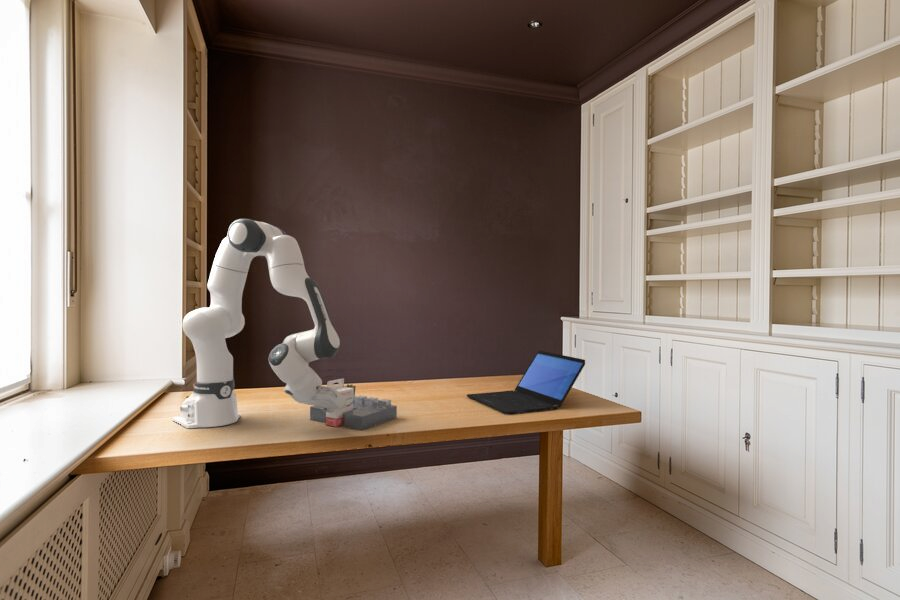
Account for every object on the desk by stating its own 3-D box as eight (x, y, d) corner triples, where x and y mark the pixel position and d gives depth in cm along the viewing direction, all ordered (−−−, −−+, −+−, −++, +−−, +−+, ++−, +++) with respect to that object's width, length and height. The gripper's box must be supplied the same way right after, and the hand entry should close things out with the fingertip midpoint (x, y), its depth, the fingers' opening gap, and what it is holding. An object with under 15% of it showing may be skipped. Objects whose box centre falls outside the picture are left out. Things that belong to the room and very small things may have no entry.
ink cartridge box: (336, 427, 159) (336, 382, 158) (325, 425, 161) (325, 381, 161) (353, 421, 166) (354, 379, 166) (343, 419, 169) (343, 377, 168)
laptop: (465, 398, 208) (466, 353, 207) (538, 392, 223) (539, 350, 223) (505, 416, 177) (506, 363, 177) (586, 407, 193) (587, 359, 193)
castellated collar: (310, 419, 168) (310, 401, 168) (346, 409, 184) (346, 392, 183) (362, 430, 156) (362, 410, 156) (396, 418, 171) (396, 400, 171)
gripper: (336, 380, 147) (358, 406, 156) (290, 374, 158) (313, 399, 166) (325, 397, 144) (348, 423, 152) (279, 390, 154) (303, 414, 163)
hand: (329, 410), depth 159 cm, fingers closed, pressing on ink cartridge box
